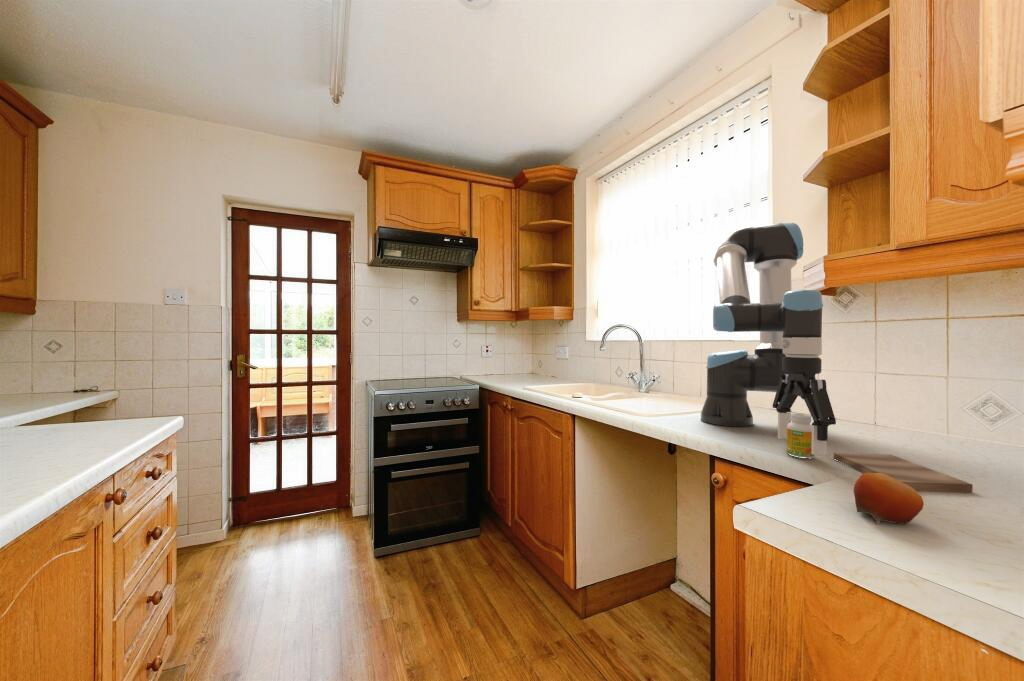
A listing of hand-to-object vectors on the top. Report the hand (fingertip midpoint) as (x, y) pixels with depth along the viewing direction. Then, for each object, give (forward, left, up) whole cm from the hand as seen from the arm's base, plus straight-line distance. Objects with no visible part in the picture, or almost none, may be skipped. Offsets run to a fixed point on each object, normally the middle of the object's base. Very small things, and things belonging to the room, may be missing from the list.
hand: (800, 446), depth 95 cm
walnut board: (+11, +12, -2) cm, 16 cm away
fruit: (+33, -6, -3) cm, 34 cm away
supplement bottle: (0, 0, -3) cm, 3 cm away
